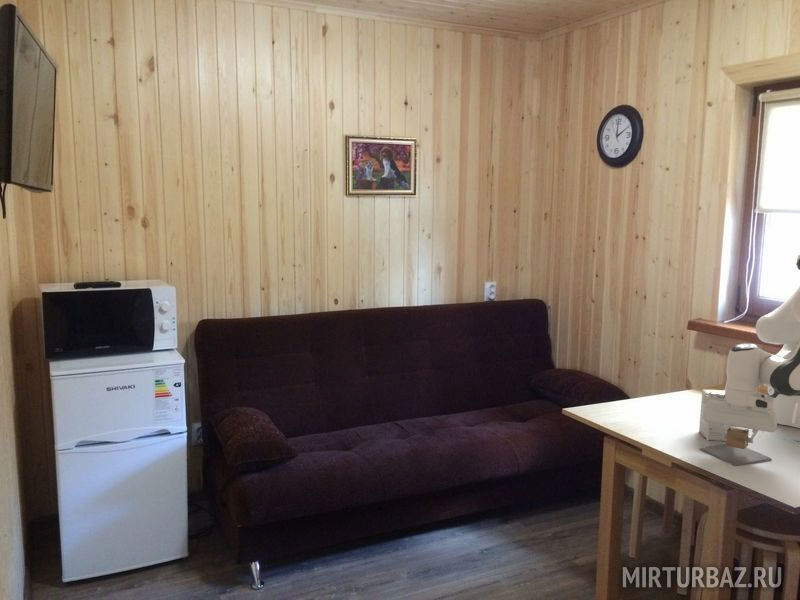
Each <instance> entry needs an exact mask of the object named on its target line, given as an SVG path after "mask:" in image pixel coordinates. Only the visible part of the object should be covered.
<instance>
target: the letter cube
mask: <svg viewBox="0 0 800 600" xmlns="http://www.w3.org/2000/svg"><path fill="white" fill-rule="evenodd" d="M749 431H750V429H747V428H741V427H734V426H731V427H730V428H729V429H728V430H727V438H726V441H725V442H726V443H725V444H726V446H730V447H735V448H740V449H745V448H747V447H748V445H749V443H748V442H747V440H748V439H747V438H748V436H750V435H749V434H750V432H749Z"/></svg>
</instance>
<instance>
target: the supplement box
mask: <svg viewBox="0 0 800 600" xmlns="http://www.w3.org/2000/svg"><path fill="white" fill-rule="evenodd" d="M709 393H715V394H725V389H723V390H720V389H702V390H701V401H700V416H699V427H698V432H699V433H700V434H701V435H702V436H703V437H704V438H705V439H706V440H707V441H718V442H719V441H723V442H726V439H725V438H723V433H722V431H721V429H720V428H719V425H720V424H716V423H710V422H705V421H704V419H703V412H704V407H705V405H704V403H703V397H704V395H705V394H709ZM708 396H709V395H708ZM724 399H725V398H724ZM730 427H731V426H729V425H725V427H724V429H725V431H726V432H727V430H728V429H729V428H730ZM734 427H735V426H734Z"/></svg>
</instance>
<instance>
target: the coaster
mask: <svg viewBox="0 0 800 600" xmlns="http://www.w3.org/2000/svg"><path fill="white" fill-rule="evenodd" d="M699 450H700V451H703V452H704V453H707V454H708V455H711V456H712V457H715V458H717V459H719V460H722V462H723V461H724V462H725V463H727V464H730V465H731V466H734V467H738V466H739V467H740V466H743V465H750V464H757V463H763V462H769V461H772V460H773V459H772V458H771V457H769V456H766V455H765V454H764V453H763V454H762V453H760V452H759V451H755V450H753V449H751V448H748V447H746V448H745V449H740V448H735V447H730V446H726V443H724V444H723V443H722V444H716V445H709V446H702V447H699Z"/></svg>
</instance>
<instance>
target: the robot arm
mask: <svg viewBox="0 0 800 600" xmlns="http://www.w3.org/2000/svg"><path fill="white" fill-rule="evenodd" d="M795 265H796V267H797V269H798V270H799V271H800V252H799V253H798V254H797V258H796V263H795ZM755 333H756V336H757V338H758V339H759V340H760V341H761V342H763V343H765V344H773V345H783V346H782V348H781V349H780V350H779V351H778V352H777V353H776V354H772V353H770V352H768V351H765V350H763V349H761V348H760V347H759V346H758V345H757V344H755V343H745V342H744V343H739V344H735V345H733V346H732V347H731V348H730V349H729V352H728V355H727V360H726V361H727V362H726V371H725V372H726V377H727V378H726V382H725V387H724V390H725V394H715V393H709V394H705V395H704V397H703V403H704V405H705V407H704V412H703V419H704V421H705V422H710V423H716V424H720V425H719V428H720V429H721V431H722V433H723V438H725V439H726V438H727V432H726V431H725V429H724V427H725V425H729V426H735V427H740V428H745V429H749V430H752V431H751V433H752V434H751V435H749V436H748V438H747V439H748V440H747V442H748V444H753V443H754V438H755V437H756V436H757V435H758V433H759V431H761V432H766V433H767V432H768V433H774V432H776V431H777V429H778V425H783V426H789V427H793V428H796V429H797V428H798V429H800V285H799V286H798V288H797V289H796V290H795V292H794V293H793V294H792V295H791V296H790V298H788V299H787V300H786V301H785V302H783V303H782V304H781V305H779V306H778V307H776V308H775V309H773V310H772V311H771V312H769V313H767V314H764V315H762V316H760V317H759V318H758V320H757V321H756V323H755ZM760 385H764V386H765V387H767V388H766V389H767V390H766V391H767V394H764V393H762V392H759V391H758V390H759V386H760ZM708 395H709V396H708ZM724 398H725V399H724Z"/></svg>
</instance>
